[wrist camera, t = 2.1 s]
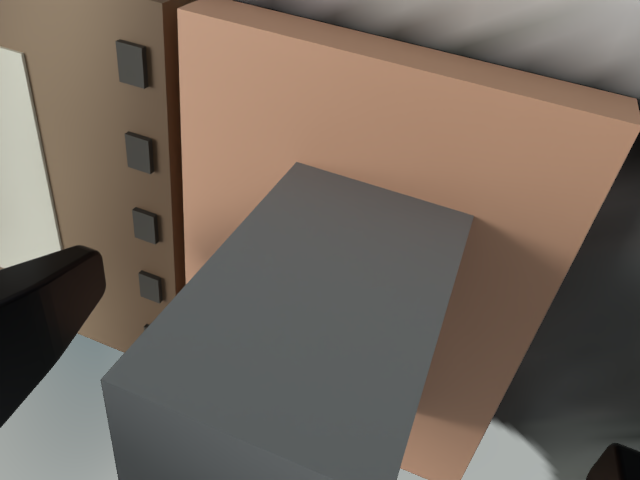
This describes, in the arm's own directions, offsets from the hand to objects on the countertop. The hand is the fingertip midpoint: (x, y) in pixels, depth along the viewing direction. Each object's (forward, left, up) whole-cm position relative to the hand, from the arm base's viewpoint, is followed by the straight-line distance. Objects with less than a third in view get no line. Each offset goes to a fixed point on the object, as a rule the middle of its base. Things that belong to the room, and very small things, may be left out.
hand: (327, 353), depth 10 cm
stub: (0, 0, -2) cm, 2 cm away
